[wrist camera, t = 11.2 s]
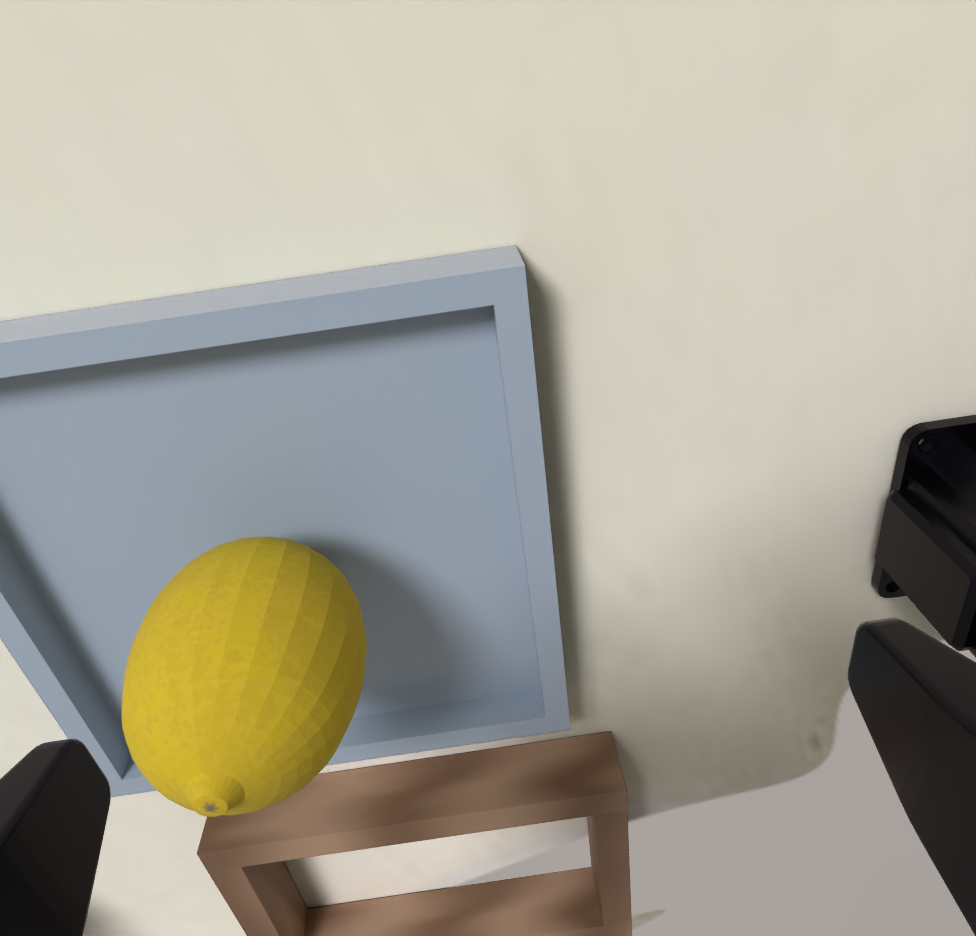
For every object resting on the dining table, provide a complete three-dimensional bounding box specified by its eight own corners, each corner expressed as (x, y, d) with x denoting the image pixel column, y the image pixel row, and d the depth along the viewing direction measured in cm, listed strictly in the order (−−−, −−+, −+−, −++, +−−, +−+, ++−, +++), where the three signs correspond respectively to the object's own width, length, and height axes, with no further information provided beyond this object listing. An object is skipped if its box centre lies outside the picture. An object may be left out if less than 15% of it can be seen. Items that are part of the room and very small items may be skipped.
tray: (516, 245, 17) (525, 265, 16) (561, 688, 26) (570, 729, 24) (-128, 340, 17) (-183, 369, 16) (127, 752, 26) (108, 797, 24)
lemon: (408, 592, 22) (395, 841, 15) (253, 651, 23) (175, 911, 16) (317, 452, 19) (251, 678, 12) (145, 525, 20) (-5, 773, 13)
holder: (610, 731, 27) (626, 790, 25) (618, 877, 33) (632, 935, 31) (214, 789, 27) (196, 853, 25) (288, 925, 33) (278, 988, 31)
